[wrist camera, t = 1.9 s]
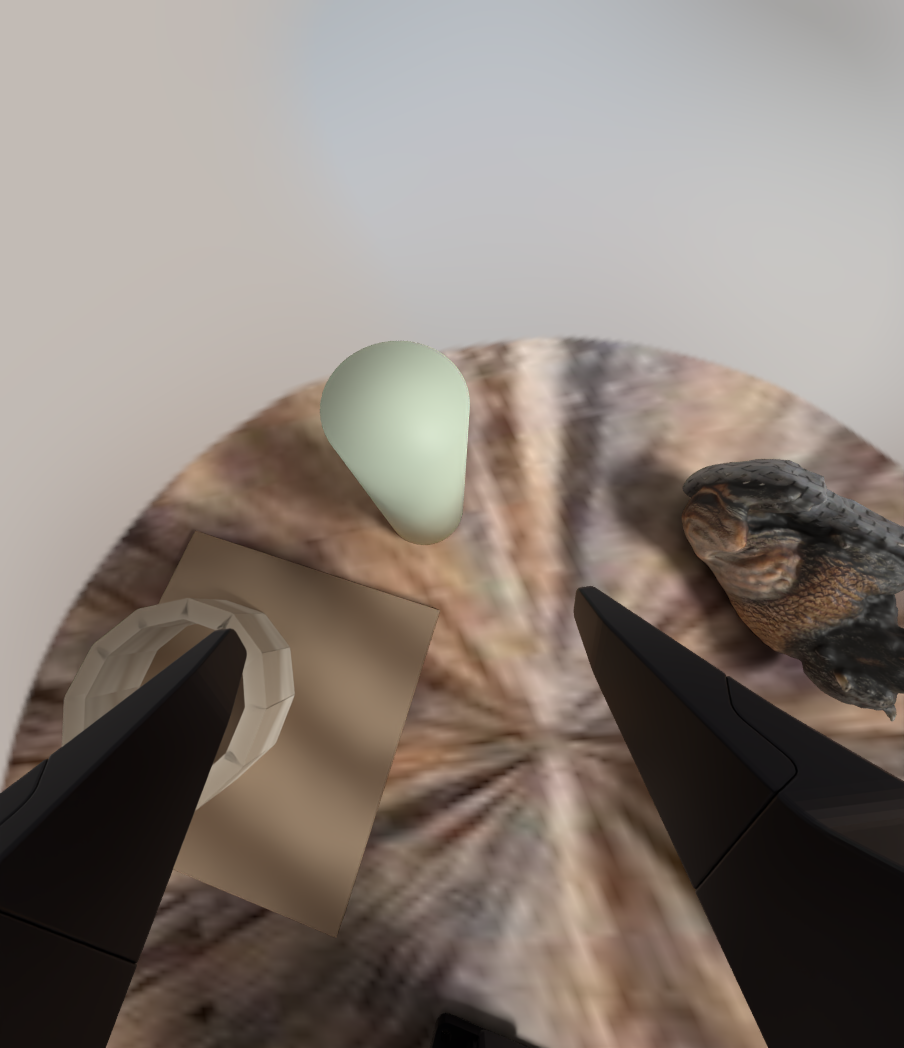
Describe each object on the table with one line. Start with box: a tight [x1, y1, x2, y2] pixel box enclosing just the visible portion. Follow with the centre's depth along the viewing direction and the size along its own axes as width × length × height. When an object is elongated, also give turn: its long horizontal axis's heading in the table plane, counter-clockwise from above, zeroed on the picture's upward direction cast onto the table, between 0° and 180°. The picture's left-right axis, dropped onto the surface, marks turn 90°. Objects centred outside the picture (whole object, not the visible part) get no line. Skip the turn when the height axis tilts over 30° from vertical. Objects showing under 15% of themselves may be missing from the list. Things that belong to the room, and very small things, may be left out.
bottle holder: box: [62, 531, 440, 938], centre depth 19 cm, size 16×16×4 cm
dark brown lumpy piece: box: [682, 459, 904, 721], centre depth 19 cm, size 12×7×10 cm
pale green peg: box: [320, 341, 470, 545], centre depth 18 cm, size 5×5×12 cm
